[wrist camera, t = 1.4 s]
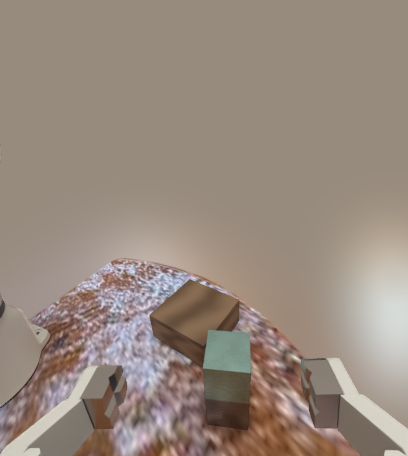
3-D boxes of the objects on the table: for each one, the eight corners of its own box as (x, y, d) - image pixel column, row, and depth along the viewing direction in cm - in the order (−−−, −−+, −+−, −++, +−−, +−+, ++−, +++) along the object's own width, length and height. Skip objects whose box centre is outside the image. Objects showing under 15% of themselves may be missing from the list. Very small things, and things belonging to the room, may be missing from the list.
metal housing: (207, 424, 31) (202, 368, 26) (211, 384, 35) (208, 329, 30) (247, 429, 30) (250, 373, 25) (247, 388, 34) (249, 332, 30)
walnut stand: (153, 335, 43) (149, 315, 41) (191, 298, 51) (189, 279, 49) (205, 368, 37) (203, 346, 35) (238, 320, 45) (239, 299, 43)
